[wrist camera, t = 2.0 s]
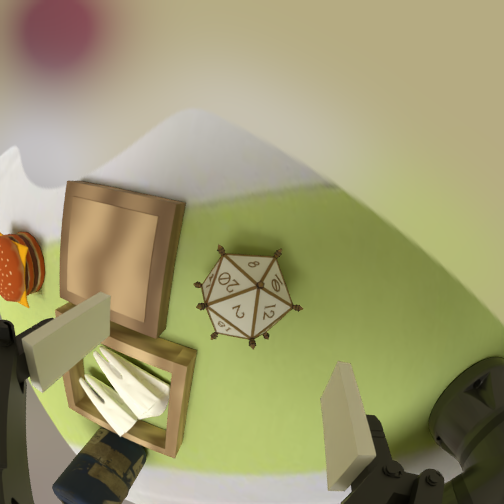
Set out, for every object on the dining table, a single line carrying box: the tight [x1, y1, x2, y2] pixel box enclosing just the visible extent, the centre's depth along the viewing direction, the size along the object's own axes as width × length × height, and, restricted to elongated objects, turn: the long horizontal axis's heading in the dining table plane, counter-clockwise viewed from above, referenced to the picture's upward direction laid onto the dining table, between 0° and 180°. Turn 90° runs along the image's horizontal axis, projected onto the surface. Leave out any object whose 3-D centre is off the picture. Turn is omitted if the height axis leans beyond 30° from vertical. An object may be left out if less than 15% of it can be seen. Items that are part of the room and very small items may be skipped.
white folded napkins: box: [79, 346, 170, 437], centre depth 31 cm, size 12×4×11 cm
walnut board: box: [60, 181, 186, 339], centre depth 28 cm, size 14×14×3 cm
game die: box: [194, 244, 303, 350], centre depth 24 cm, size 9×8×10 cm
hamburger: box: [0, 232, 45, 308], centre depth 29 cm, size 9×10×7 cm
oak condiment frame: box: [55, 302, 197, 458], centre depth 31 cm, size 18×18×4 cm
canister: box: [52, 427, 146, 504], centre depth 28 cm, size 10×10×18 cm
